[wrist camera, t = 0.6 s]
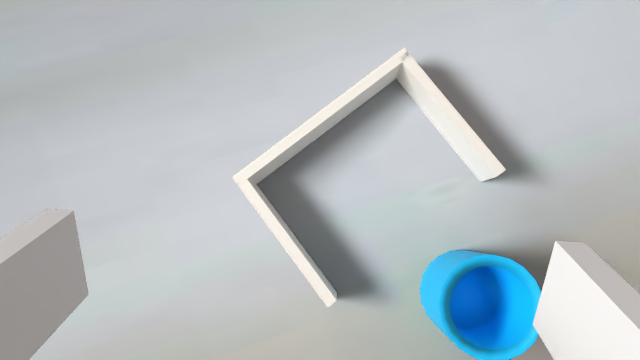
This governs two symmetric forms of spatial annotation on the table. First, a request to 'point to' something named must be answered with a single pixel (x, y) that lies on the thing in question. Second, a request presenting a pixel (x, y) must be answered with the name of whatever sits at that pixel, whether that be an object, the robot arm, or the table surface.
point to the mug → (482, 303)
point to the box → (333, 113)
